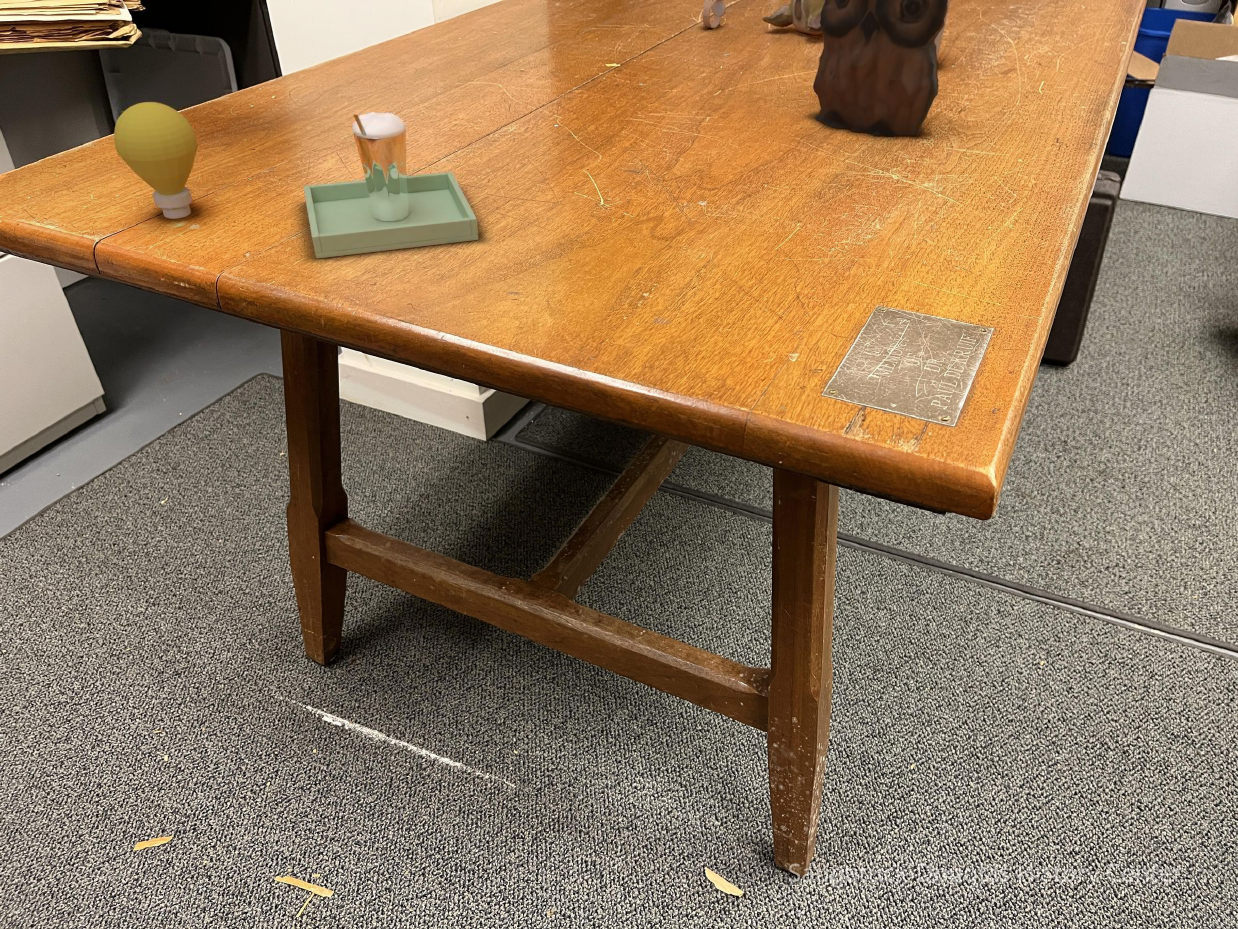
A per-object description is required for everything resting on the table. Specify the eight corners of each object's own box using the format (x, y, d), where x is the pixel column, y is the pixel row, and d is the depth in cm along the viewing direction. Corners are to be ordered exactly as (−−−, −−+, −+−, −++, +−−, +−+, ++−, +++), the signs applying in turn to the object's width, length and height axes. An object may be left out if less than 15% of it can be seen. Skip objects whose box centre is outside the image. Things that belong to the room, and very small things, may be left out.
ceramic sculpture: (874, -29, 144) (816, -12, 136) (866, 29, 149) (810, 49, 142) (820, -38, 150) (761, -22, 142) (815, 18, 155) (758, 37, 148)
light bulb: (122, 220, 83) (85, 108, 77) (175, 195, 88) (144, 88, 82) (179, 232, 81) (146, 119, 75) (230, 206, 86) (203, 98, 80)
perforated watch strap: (724, 25, 151) (727, -8, 148) (711, 31, 147) (714, -3, 144) (710, 23, 152) (712, -10, 149) (697, 28, 148) (699, -5, 145)
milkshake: (351, 223, 83) (332, 110, 77) (384, 202, 87) (368, 94, 81) (393, 231, 81) (377, 118, 75) (425, 210, 85) (412, 101, 79)
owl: (931, 138, 107) (976, -55, 94) (828, 141, 105) (860, -55, 93) (892, 106, 116) (927, -73, 104) (797, 108, 115) (822, -73, 103)
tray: (316, 258, 78) (311, 236, 77) (307, 205, 87) (303, 185, 86) (478, 239, 82) (477, 218, 80) (453, 191, 91) (451, 171, 89)
